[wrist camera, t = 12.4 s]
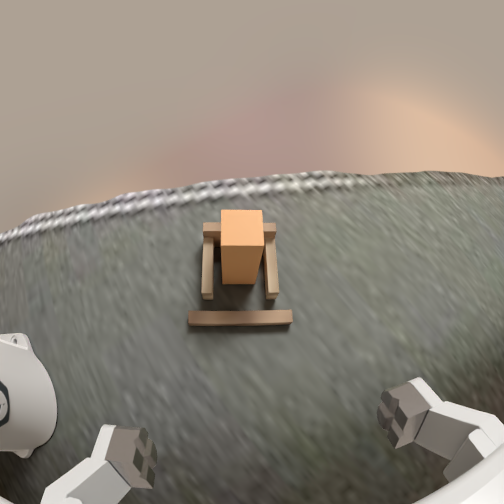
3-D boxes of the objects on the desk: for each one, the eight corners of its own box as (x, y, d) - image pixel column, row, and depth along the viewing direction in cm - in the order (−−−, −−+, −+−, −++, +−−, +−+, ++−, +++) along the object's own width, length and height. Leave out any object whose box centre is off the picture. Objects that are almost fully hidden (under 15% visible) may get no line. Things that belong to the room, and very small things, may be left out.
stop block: (222, 284, 35) (220, 245, 26) (222, 255, 37) (221, 209, 28) (254, 284, 35) (264, 245, 26) (253, 255, 37) (261, 210, 28)
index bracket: (203, 299, 34) (200, 288, 30) (205, 238, 38) (203, 222, 34) (275, 299, 34) (281, 287, 31) (271, 239, 38) (275, 223, 35)
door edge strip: (189, 325, 32) (188, 323, 31) (189, 313, 33) (188, 310, 32) (290, 324, 33) (292, 321, 32) (289, 312, 34) (291, 309, 33)
